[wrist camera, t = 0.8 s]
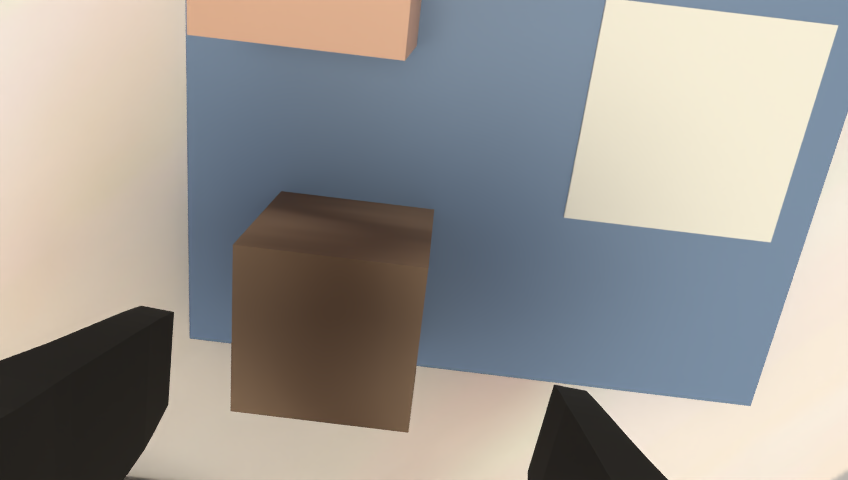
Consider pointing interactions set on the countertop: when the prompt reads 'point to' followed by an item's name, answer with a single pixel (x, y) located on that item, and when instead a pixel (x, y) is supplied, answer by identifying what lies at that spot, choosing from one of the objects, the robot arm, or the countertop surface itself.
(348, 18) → the terracotta block
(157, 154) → the countertop surface
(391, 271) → the walnut block
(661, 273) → the blueprint board
